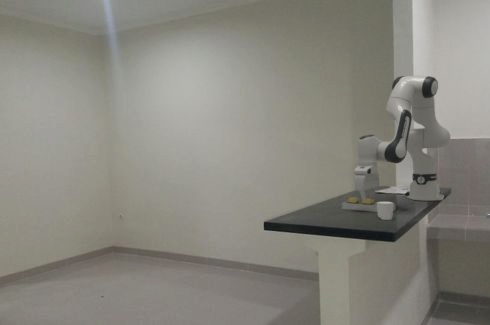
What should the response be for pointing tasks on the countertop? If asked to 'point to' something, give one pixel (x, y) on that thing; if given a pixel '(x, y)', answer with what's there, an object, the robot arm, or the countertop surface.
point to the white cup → (385, 210)
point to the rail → (362, 206)
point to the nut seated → (353, 200)
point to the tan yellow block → (368, 201)
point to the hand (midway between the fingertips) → (368, 198)
